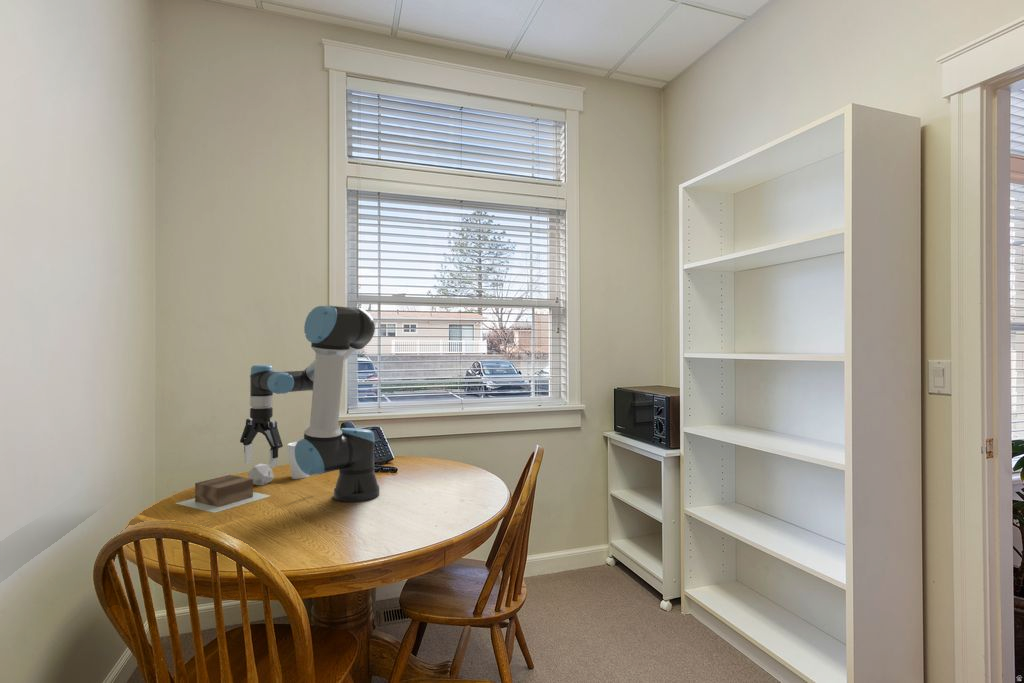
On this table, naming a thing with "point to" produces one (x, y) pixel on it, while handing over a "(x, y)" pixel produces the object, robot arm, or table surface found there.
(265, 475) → the die
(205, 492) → the walnut block
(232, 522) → the table surface
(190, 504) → the base plate
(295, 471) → the foam cup
